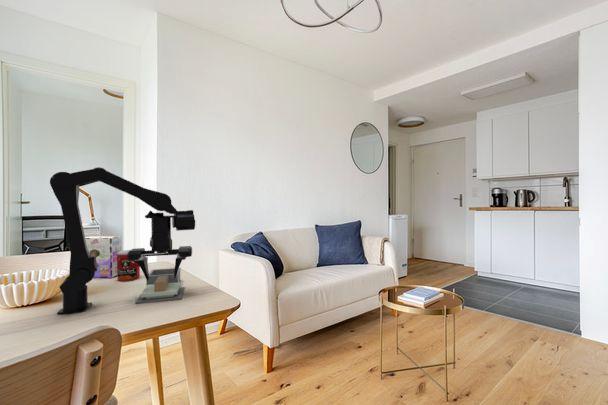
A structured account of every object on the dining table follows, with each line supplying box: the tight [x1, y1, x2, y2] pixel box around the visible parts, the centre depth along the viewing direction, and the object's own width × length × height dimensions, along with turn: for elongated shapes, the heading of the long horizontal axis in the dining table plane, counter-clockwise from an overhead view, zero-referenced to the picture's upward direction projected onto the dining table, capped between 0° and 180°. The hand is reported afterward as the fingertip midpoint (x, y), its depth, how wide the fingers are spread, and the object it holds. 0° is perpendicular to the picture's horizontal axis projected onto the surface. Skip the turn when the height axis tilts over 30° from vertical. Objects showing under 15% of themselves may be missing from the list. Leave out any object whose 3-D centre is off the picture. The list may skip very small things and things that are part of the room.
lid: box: [139, 276, 181, 299], centre depth 97 cm, size 10×10×5 cm
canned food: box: [116, 249, 141, 282], centre depth 118 cm, size 8×8×11 cm
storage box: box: [145, 267, 181, 287], centre depth 109 cm, size 10×10×5 cm
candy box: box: [85, 235, 122, 279], centre depth 122 cm, size 14×6×16 cm, turn 84°
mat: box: [134, 286, 186, 305], centre depth 97 cm, size 12×13×1 cm
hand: (161, 278), depth 97 cm, fingers open, 8 cm apart
